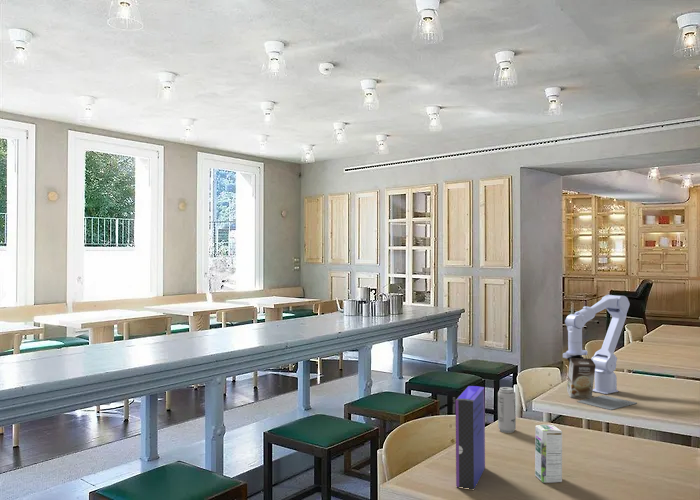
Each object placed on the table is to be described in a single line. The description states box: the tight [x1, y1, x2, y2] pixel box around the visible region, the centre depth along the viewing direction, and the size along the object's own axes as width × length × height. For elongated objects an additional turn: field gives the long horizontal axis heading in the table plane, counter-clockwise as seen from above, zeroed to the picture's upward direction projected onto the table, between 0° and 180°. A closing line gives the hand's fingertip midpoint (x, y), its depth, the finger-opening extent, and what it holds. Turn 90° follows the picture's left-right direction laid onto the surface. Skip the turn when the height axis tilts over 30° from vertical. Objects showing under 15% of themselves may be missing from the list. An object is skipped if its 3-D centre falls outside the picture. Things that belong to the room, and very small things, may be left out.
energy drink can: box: [497, 386, 517, 434], centre depth 209 cm, size 6×6×15 cm
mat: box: [576, 394, 638, 411], centre depth 246 cm, size 18×16×1 cm
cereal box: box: [455, 385, 486, 490], centre depth 167 cm, size 17×5×24 cm, turn 157°
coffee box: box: [566, 357, 595, 399], centre depth 254 cm, size 9×6×16 cm
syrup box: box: [534, 424, 563, 484], centre depth 165 cm, size 6×6×14 cm
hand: (575, 372), depth 258 cm, fingers closed
